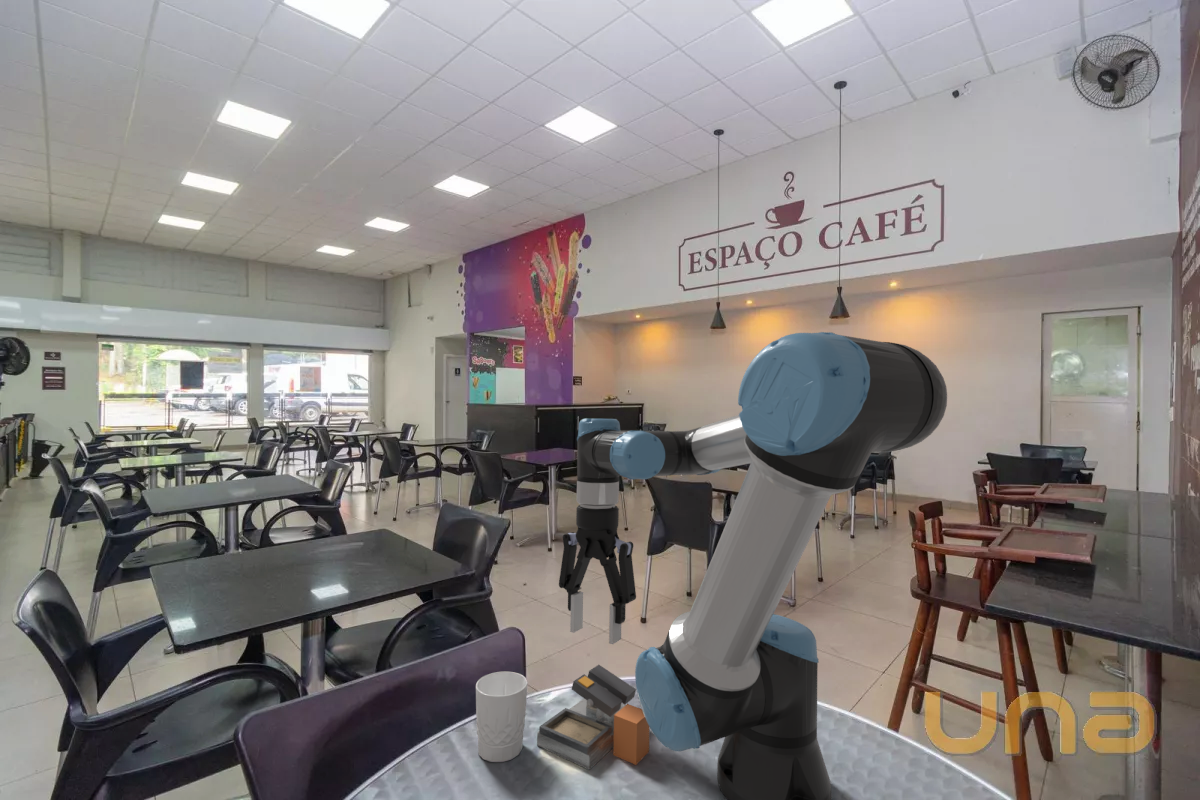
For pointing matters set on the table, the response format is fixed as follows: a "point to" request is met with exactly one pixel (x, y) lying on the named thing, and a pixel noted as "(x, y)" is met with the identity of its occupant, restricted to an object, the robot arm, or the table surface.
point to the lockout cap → (630, 734)
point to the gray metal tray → (579, 734)
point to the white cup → (500, 715)
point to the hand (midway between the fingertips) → (595, 635)
